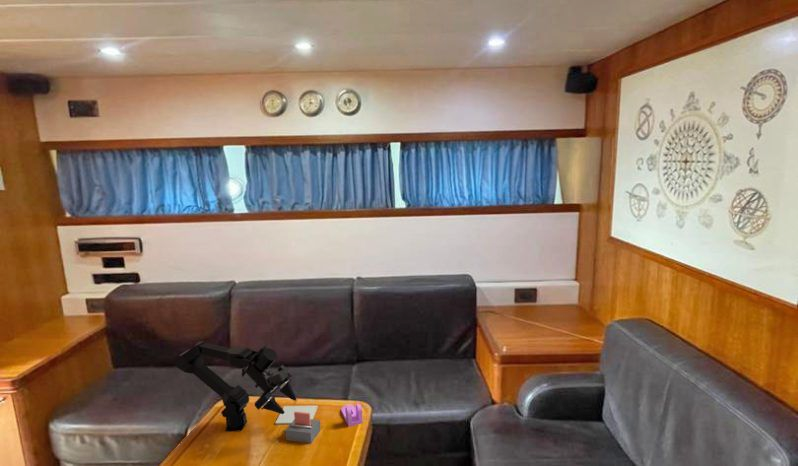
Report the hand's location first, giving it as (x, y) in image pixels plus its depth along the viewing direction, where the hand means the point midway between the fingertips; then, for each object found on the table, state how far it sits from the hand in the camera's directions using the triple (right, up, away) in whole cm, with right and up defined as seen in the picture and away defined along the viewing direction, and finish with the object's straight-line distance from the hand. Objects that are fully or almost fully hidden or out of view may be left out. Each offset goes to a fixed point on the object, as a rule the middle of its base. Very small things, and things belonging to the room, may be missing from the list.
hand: (289, 406), depth 165 cm
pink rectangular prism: (+5, -11, +1) cm, 12 cm away
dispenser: (+5, -11, +1) cm, 12 cm away
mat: (0, -9, +14) cm, 16 cm away
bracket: (+21, -9, +12) cm, 26 cm away
